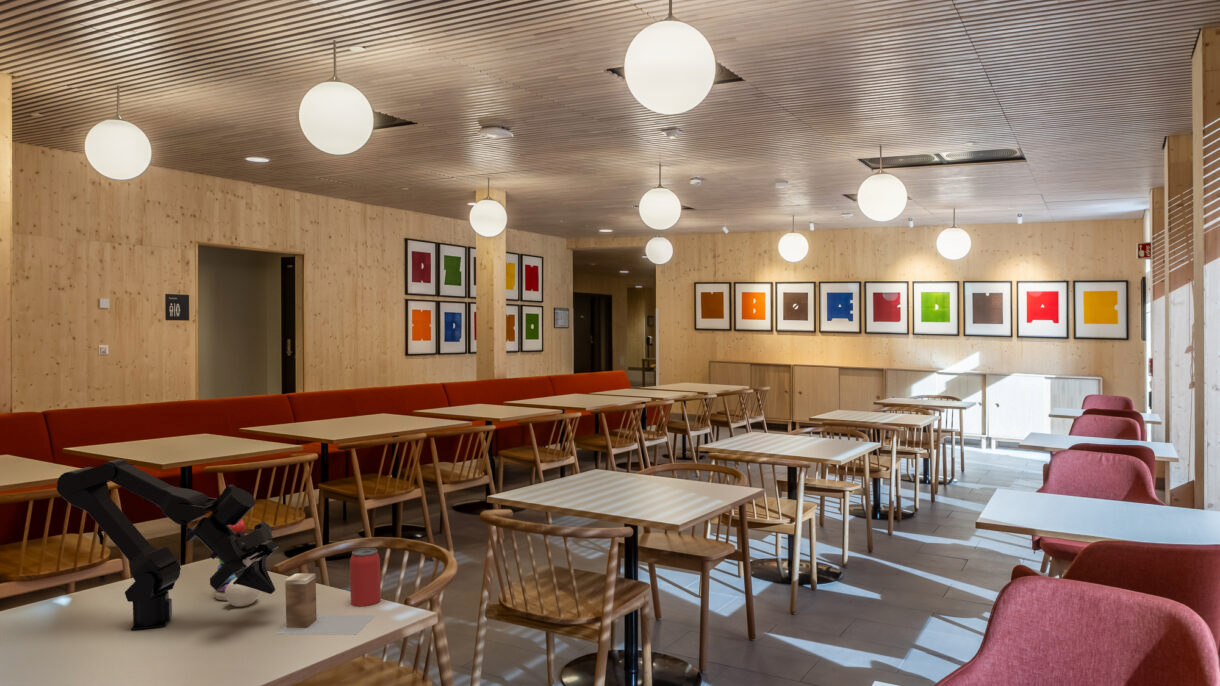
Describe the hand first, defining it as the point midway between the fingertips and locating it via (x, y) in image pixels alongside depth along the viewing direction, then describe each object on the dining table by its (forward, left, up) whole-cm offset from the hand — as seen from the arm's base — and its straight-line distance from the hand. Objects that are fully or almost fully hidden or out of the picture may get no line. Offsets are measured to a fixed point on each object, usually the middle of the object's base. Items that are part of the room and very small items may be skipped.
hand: (273, 592), depth 171 cm
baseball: (-8, +16, -7) cm, 19 cm away
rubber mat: (+11, -4, -7) cm, 14 cm away
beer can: (+19, +8, -7) cm, 22 cm away
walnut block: (+6, -2, -7) cm, 9 cm away
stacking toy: (-11, +24, -7) cm, 27 cm away
